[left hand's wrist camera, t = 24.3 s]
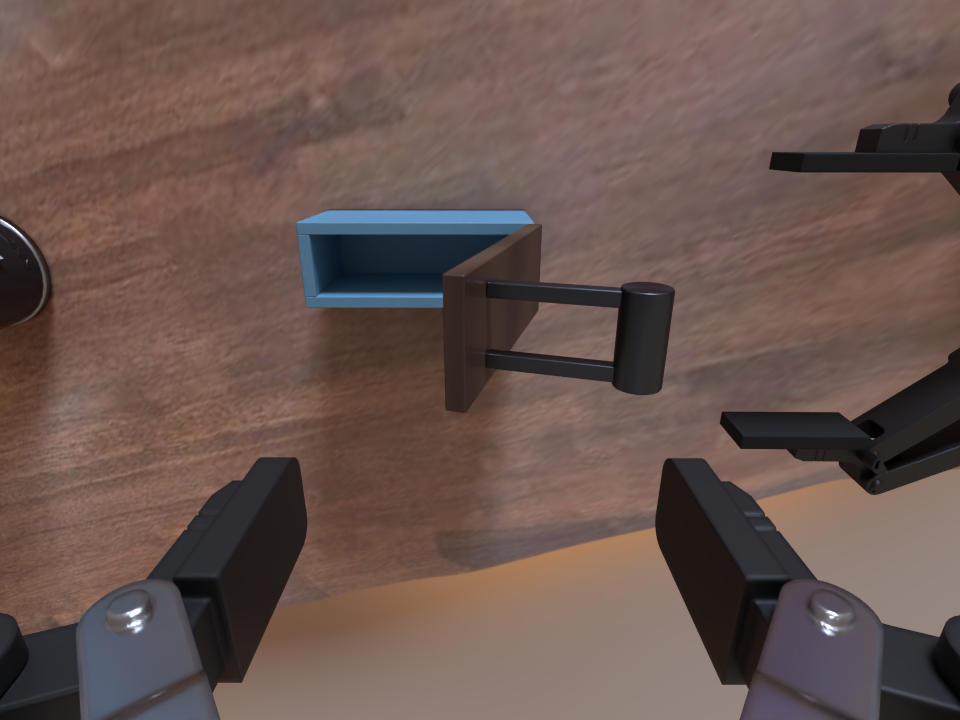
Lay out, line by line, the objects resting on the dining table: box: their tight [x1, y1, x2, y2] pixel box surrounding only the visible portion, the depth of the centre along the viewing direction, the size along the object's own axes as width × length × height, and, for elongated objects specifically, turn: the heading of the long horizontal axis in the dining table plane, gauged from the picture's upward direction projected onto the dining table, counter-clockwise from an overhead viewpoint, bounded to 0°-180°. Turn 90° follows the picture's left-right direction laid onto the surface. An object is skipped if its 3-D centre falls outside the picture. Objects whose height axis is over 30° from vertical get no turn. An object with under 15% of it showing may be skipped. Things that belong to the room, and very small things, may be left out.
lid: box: [442, 224, 675, 413], centre depth 27 cm, size 16×6×8 cm
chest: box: [296, 209, 534, 308], centre depth 39 cm, size 15×6×9 cm, turn 90°
